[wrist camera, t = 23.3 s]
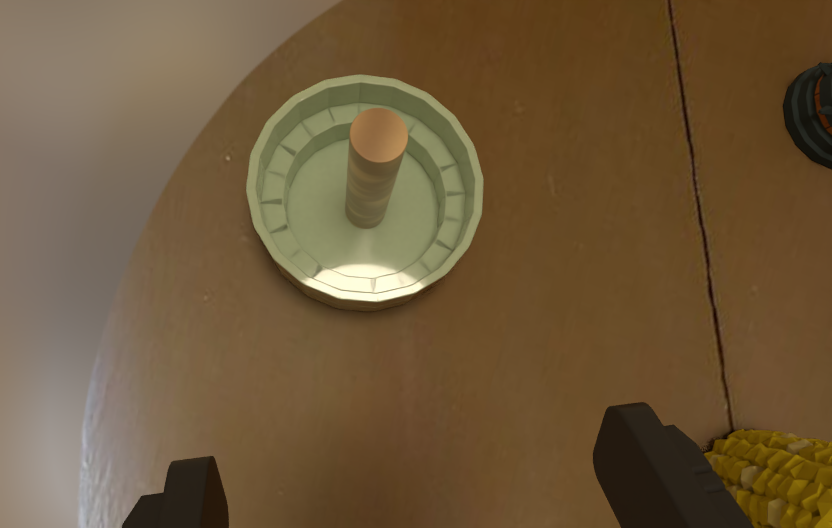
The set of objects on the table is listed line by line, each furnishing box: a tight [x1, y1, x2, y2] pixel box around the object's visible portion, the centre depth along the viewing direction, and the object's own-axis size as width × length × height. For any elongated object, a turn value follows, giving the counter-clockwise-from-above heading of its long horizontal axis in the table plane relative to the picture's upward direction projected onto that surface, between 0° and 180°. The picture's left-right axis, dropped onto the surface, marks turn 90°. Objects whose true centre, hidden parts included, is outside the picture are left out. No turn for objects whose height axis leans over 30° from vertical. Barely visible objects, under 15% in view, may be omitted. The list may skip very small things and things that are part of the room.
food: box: [704, 429, 832, 528], centre depth 37 cm, size 15×12×10 cm
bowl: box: [246, 75, 484, 312], centre depth 41 cm, size 15×15×6 cm
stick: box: [345, 108, 408, 229], centre depth 36 cm, size 3×3×14 cm
